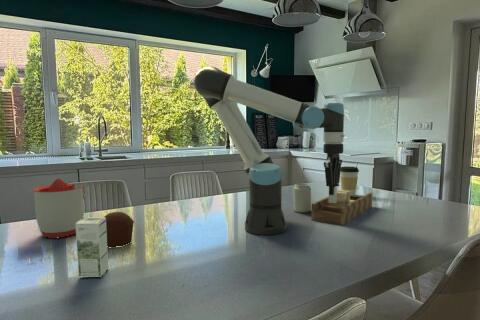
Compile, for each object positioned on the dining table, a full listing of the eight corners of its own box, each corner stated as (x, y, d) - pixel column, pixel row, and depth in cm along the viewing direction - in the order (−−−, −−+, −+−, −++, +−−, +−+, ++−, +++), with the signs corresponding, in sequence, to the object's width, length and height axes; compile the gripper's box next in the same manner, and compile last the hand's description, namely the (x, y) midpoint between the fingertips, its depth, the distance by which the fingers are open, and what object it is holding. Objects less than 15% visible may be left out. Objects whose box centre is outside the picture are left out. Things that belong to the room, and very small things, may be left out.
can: (309, 209, 154) (310, 182, 152) (311, 213, 146) (311, 185, 145) (293, 208, 154) (293, 182, 153) (293, 213, 147) (294, 185, 146)
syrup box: (109, 269, 91) (106, 216, 90) (101, 279, 86) (98, 222, 84) (87, 269, 91) (84, 216, 90) (78, 279, 85) (74, 222, 84)
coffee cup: (360, 194, 184) (361, 166, 182) (355, 198, 175) (356, 169, 174) (341, 192, 189) (342, 165, 187) (336, 196, 181) (337, 167, 179)
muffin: (132, 248, 107) (131, 217, 106) (95, 251, 105) (93, 219, 104) (136, 236, 118) (135, 208, 117) (102, 238, 116) (100, 210, 115)
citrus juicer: (99, 230, 125) (96, 176, 123) (50, 244, 111) (46, 183, 109) (75, 223, 134) (72, 173, 132) (27, 236, 120) (23, 179, 118)
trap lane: (343, 225, 128) (343, 208, 128) (311, 219, 136) (311, 203, 136) (372, 206, 157) (372, 192, 156) (344, 202, 165) (344, 189, 164)
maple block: (344, 208, 138) (344, 193, 138) (330, 206, 142) (330, 191, 141) (349, 205, 143) (350, 191, 143) (335, 203, 147) (336, 189, 146)
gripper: (336, 144, 126) (335, 207, 128) (348, 142, 136) (347, 200, 138) (317, 143, 130) (316, 204, 133) (330, 142, 141) (330, 198, 143)
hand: (332, 202), depth 136 cm, fingers closed
